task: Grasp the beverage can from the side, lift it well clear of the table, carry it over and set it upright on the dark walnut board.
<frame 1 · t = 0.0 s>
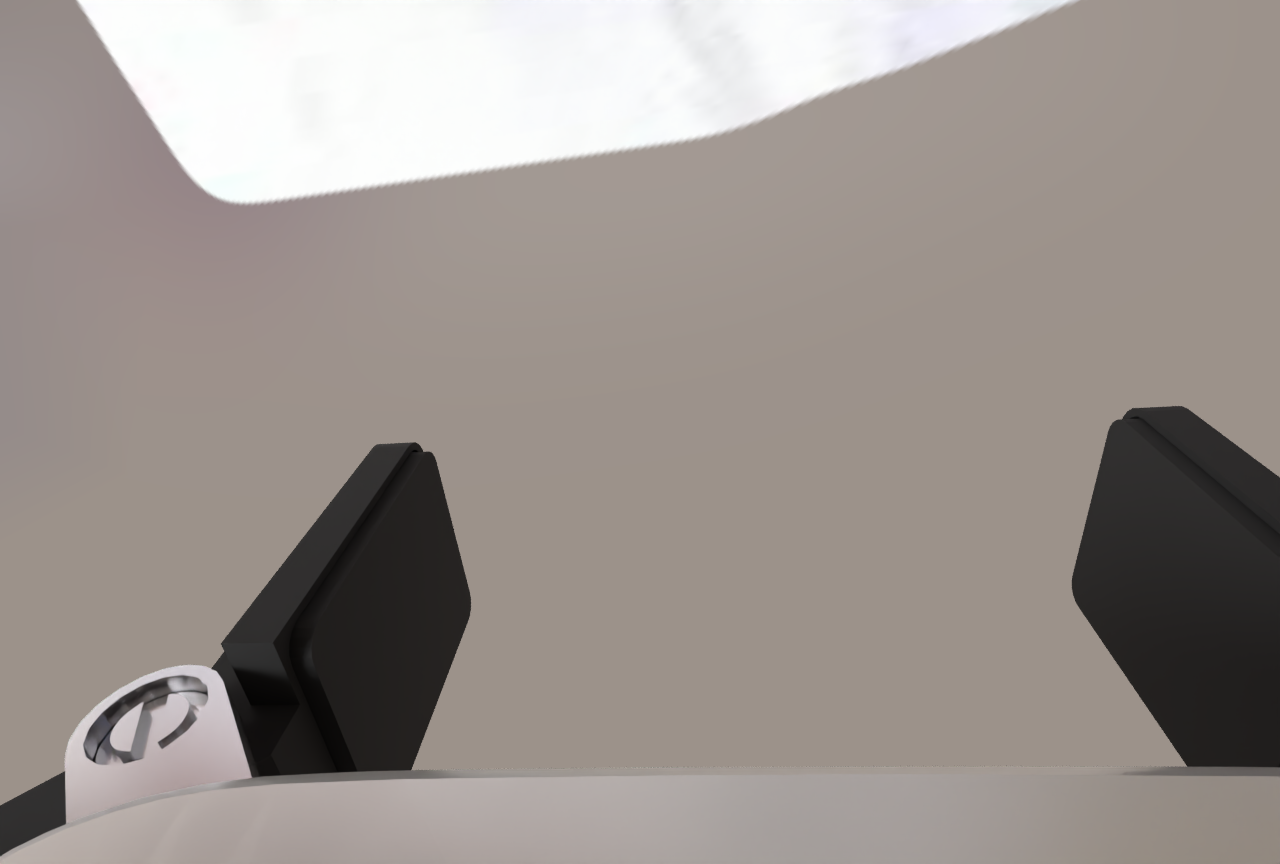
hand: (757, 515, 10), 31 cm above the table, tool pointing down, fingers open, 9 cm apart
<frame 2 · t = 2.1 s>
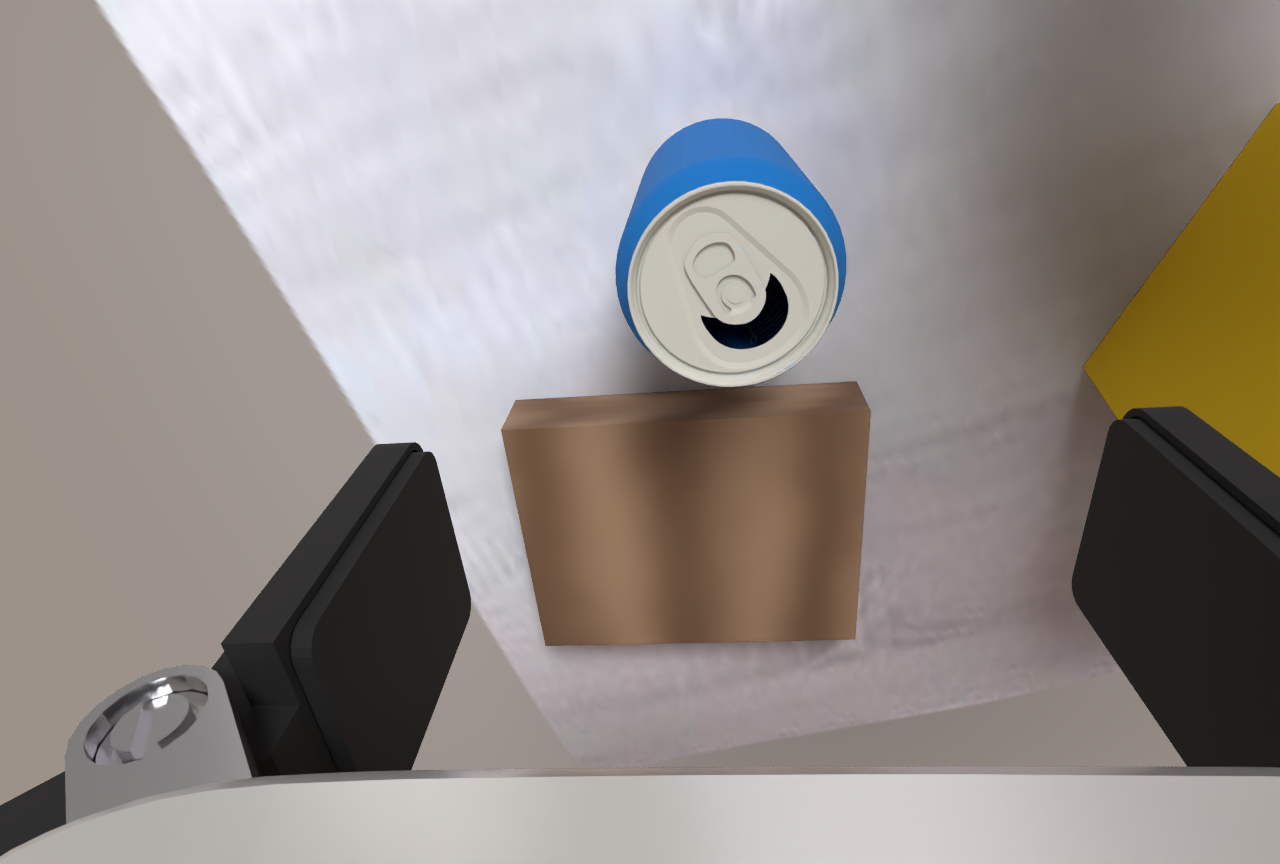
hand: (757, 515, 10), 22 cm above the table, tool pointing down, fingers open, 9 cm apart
walnut board: (690, 505, 37), on the table
alarm clock: (1252, 281, 30), on the table
beverage can: (717, 200, 30), on the table
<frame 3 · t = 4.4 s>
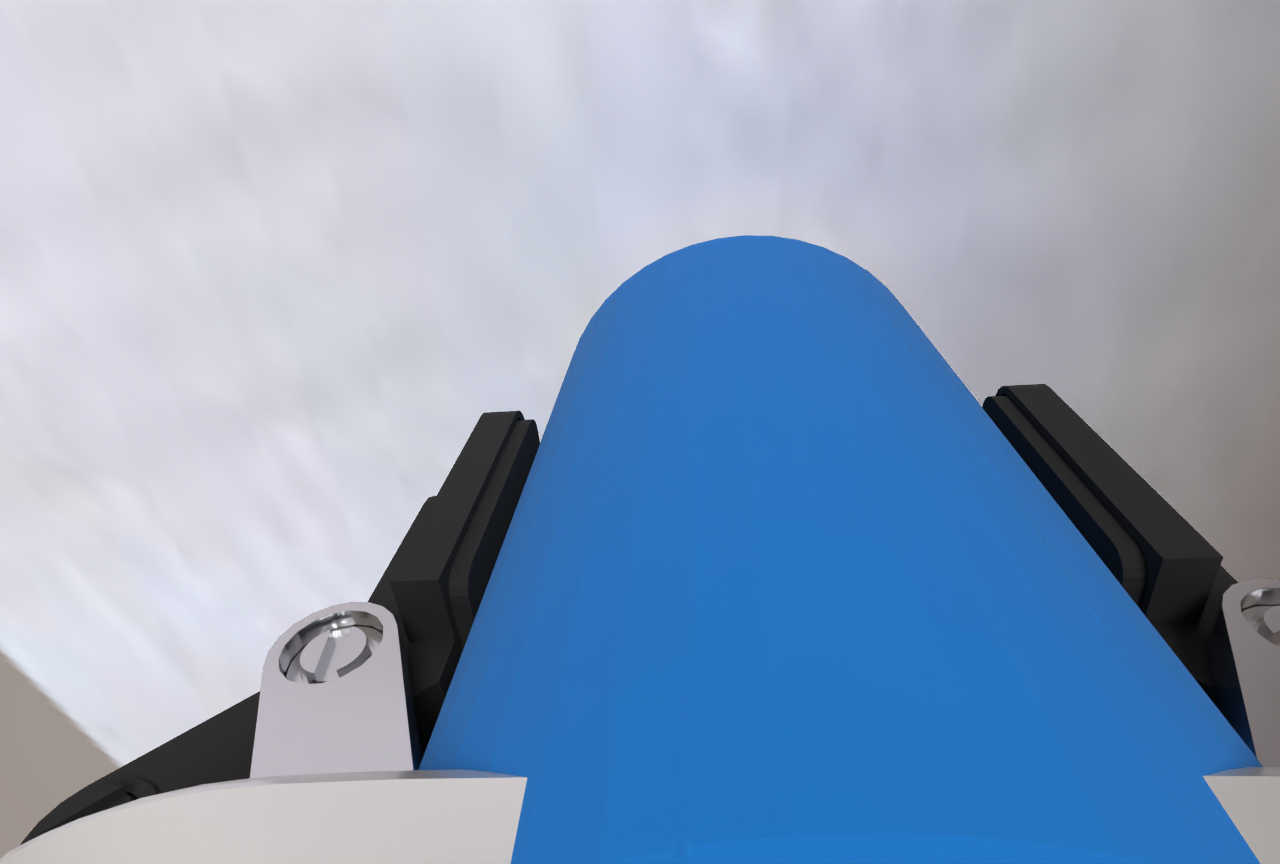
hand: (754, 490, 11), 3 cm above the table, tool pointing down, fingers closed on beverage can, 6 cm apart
beverage can: (740, 392, 14), on the table, touching gripper
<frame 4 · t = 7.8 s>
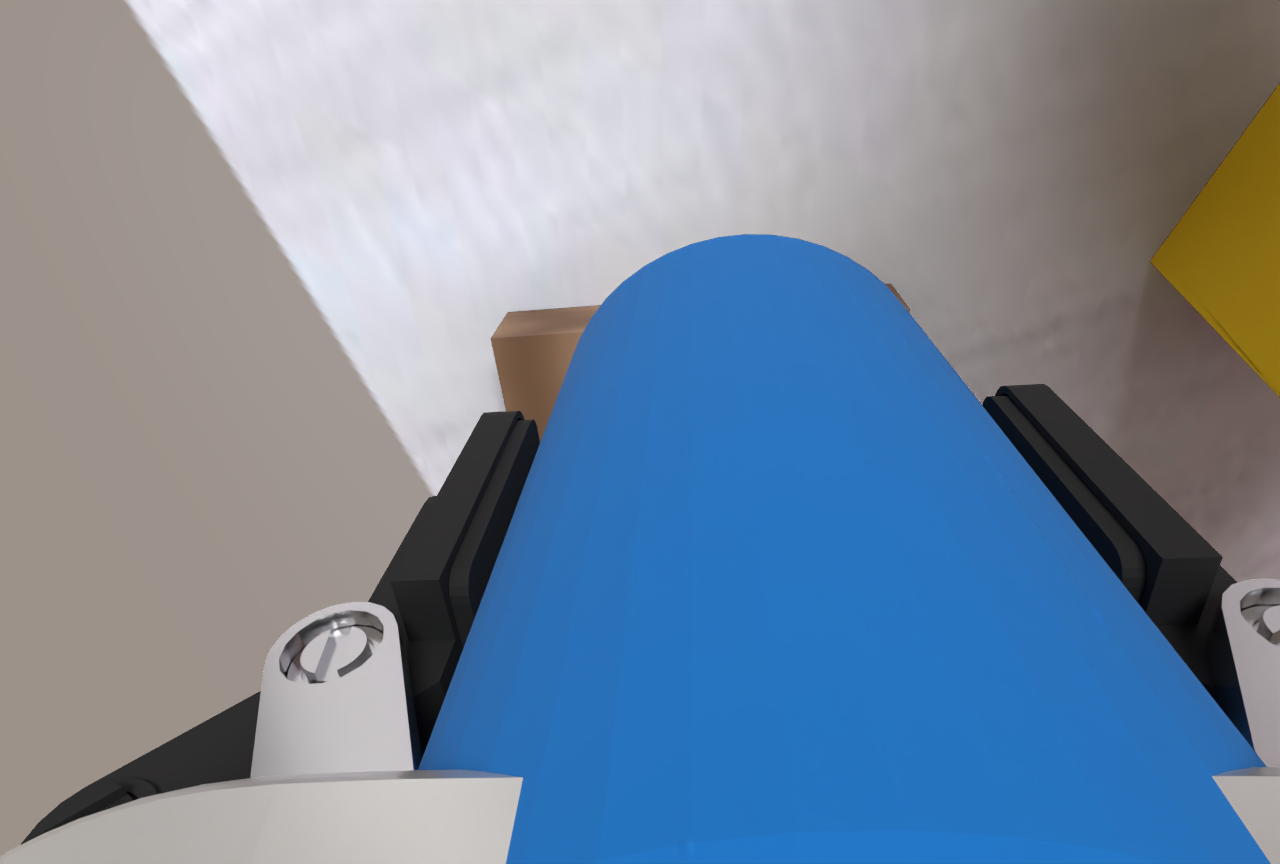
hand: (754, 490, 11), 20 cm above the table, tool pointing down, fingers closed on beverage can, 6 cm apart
walnut board: (703, 433, 33), on the table
beverage can: (740, 391, 14), point 17 cm above the table, touching gripper
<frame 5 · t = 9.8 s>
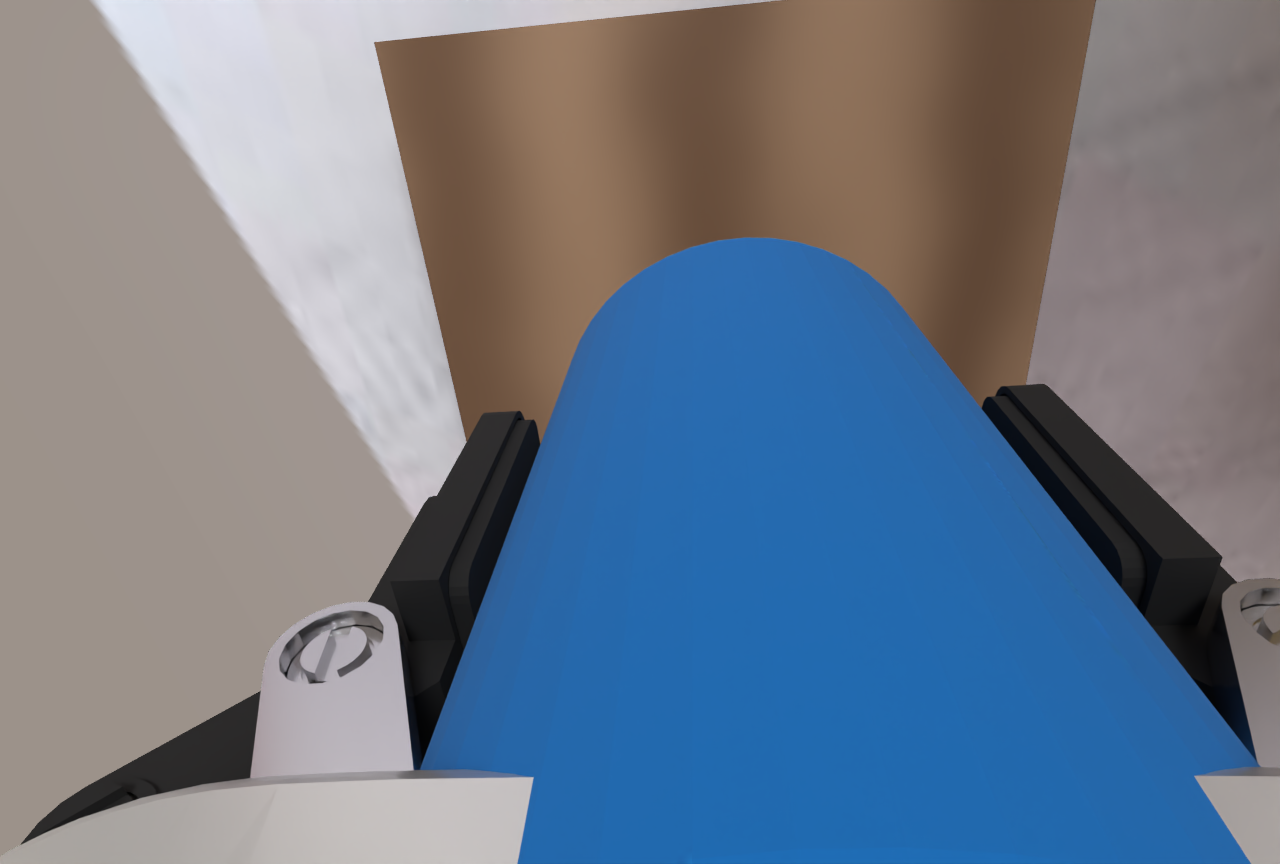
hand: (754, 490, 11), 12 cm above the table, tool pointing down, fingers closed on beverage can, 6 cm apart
walnut board: (724, 259, 22), on the table
beverage can: (740, 394, 14), point 9 cm above the table, touching gripper
when the fingers open (7 cm above the table, at t = 11.2 s): beverage can drops 1 cm, resting on walnut board.
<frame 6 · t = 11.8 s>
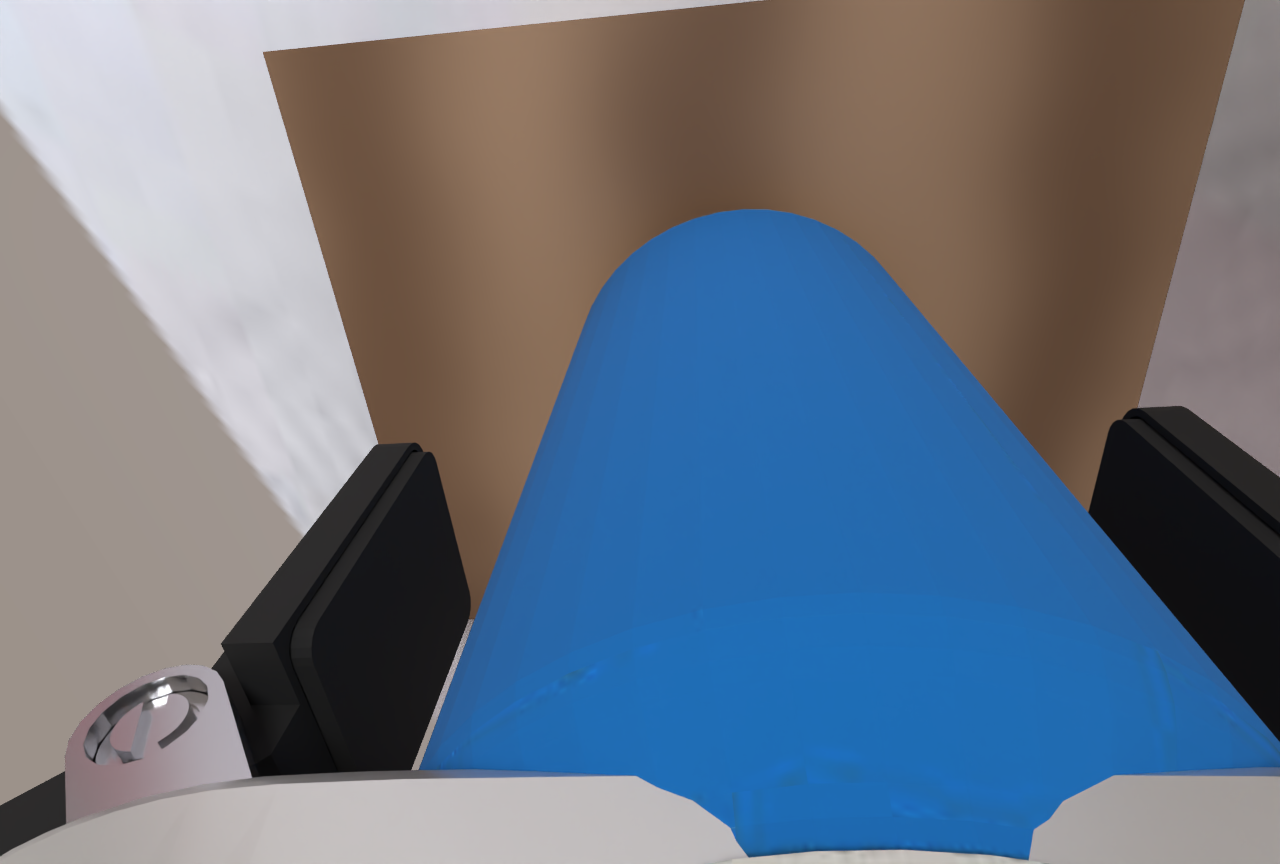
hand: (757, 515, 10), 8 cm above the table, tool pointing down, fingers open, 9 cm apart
walnut board: (730, 321, 17), on the table
beverage can: (739, 359, 15), point 3 cm above the table, touching walnut board
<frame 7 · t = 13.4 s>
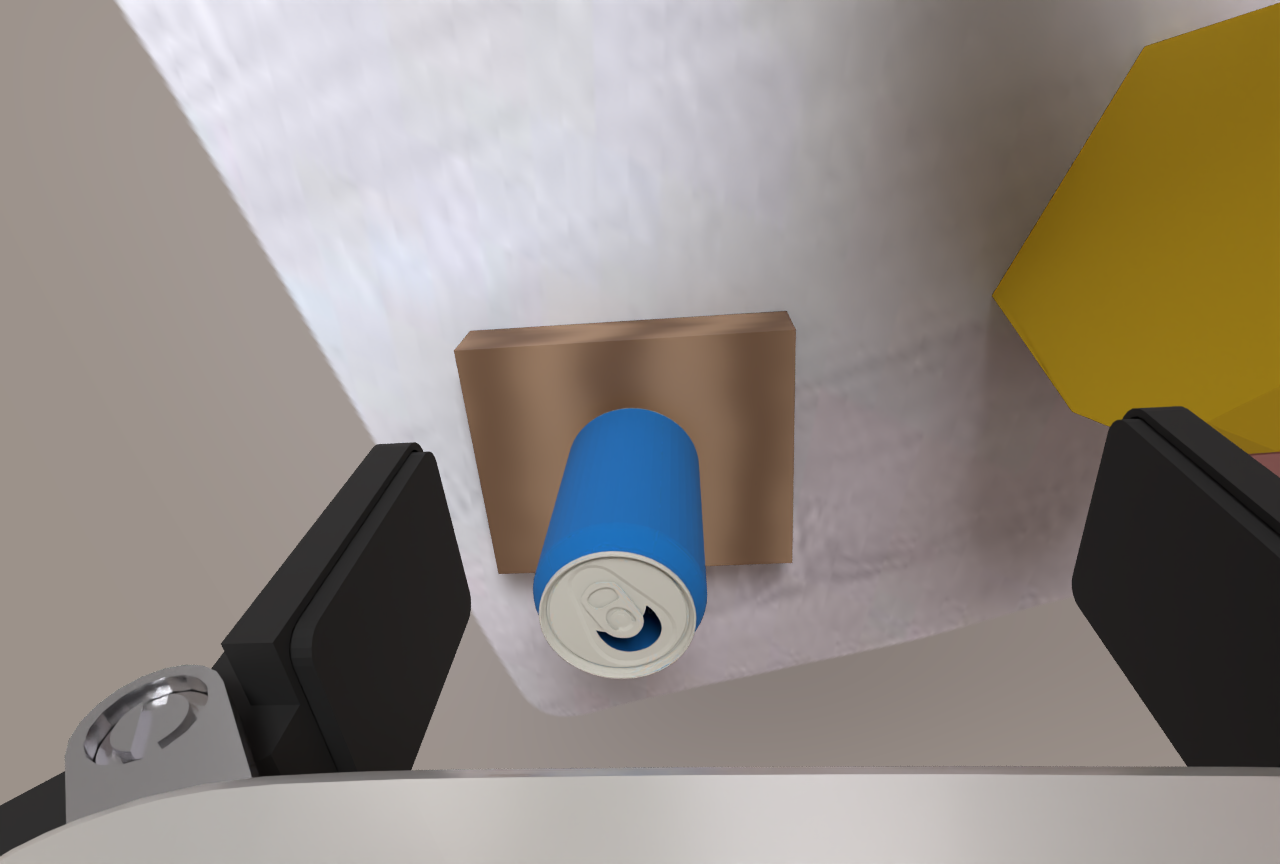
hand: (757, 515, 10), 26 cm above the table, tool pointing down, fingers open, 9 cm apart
walnut board: (636, 436, 39), on the table
alarm clock: (1137, 213, 33), on the table
beverage can: (634, 458, 37), point 3 cm above the table, touching walnut board
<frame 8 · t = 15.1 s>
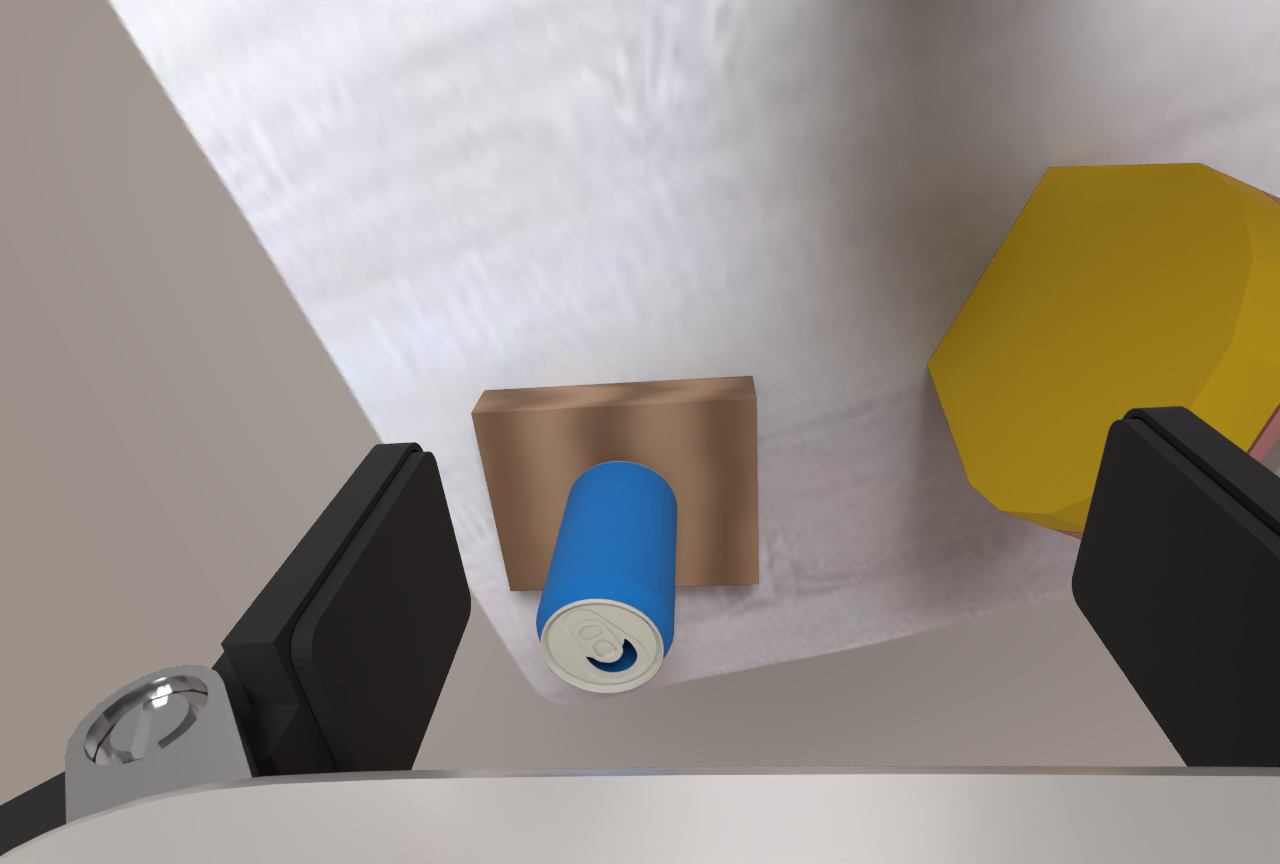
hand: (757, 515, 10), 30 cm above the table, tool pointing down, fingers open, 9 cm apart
walnut board: (626, 476, 46), on the table
alarm clock: (1049, 298, 39), on the table
beverage can: (623, 498, 43), point 3 cm above the table, touching walnut board
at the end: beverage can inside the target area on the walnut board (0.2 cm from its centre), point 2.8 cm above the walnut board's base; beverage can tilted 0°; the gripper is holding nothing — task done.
